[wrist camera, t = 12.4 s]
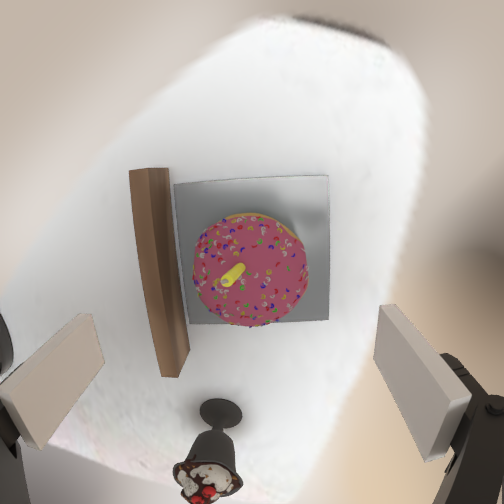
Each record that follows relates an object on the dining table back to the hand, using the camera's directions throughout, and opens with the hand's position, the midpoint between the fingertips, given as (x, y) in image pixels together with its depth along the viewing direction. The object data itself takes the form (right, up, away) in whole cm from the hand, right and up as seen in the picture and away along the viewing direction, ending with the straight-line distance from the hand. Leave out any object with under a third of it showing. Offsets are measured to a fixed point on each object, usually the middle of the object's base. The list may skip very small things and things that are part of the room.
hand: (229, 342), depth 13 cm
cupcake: (+1, +4, +14) cm, 15 cm away
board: (+1, +4, +15) cm, 16 cm away
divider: (-7, +2, +16) cm, 17 cm away
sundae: (-3, -15, +20) cm, 25 cm away
